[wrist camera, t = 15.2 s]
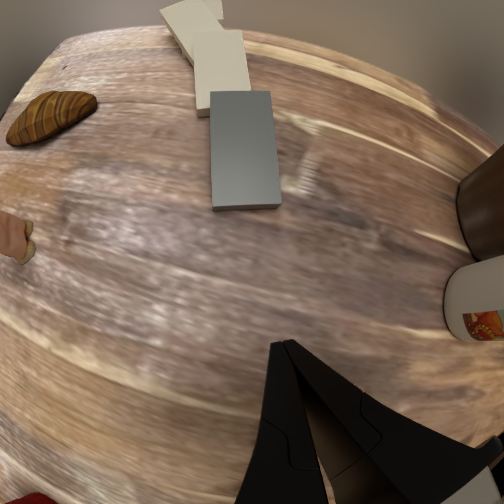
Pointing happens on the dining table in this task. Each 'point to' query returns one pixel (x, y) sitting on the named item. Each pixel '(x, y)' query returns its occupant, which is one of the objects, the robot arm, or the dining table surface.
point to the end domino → (243, 151)
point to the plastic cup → (33, 499)
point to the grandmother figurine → (15, 237)
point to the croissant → (50, 116)
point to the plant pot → (484, 207)
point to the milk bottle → (477, 301)
